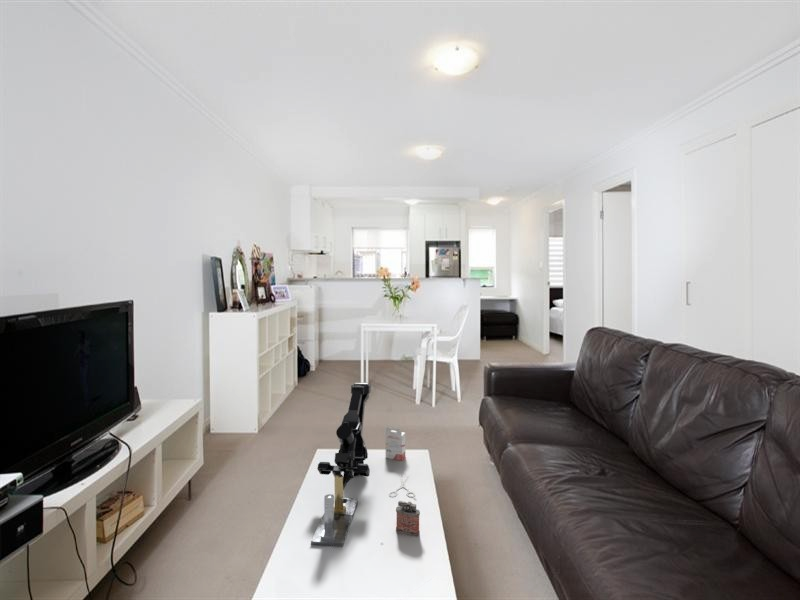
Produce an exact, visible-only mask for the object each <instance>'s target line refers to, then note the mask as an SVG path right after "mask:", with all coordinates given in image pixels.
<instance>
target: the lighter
mask: <svg viewBox="0 0 800 600" xmlns="http://www.w3.org/2000/svg"><path fill="white" fill-rule="evenodd" d="M395 511H396V527H395V532H396V533H398V534H400V535H404V536H407V537H414V538H417V537H419V536H420V533H421V532H420V514H421V511H420V509H417V504H416V503H412V502H411V501H408V502H406V501H403V500H398V503H397V507H396V509H395Z"/></svg>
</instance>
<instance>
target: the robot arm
mask: <svg viewBox="0 0 800 600" xmlns="http://www.w3.org/2000/svg"><path fill="white" fill-rule="evenodd" d="M371 391H372V385H371V384H370V385H369V382H354V384H351V385H350V394H351V397H350V401H349V405H348V411H347V412H346V413H345V415H344V416H343V419H342V421H341V422H340V424H339V426H338V427H337V429H336V436H337V440H338V442H339V443H340V445H339V450H338V452H335V453H334V463H335V465H332V464H331V463H330V462H329V461H319V463H318V464H317V471H318V472H319V474H320V475H327V476H328V475H330V474H331V473H332V474H333V477H334V478H335V476H336V475H343V491H344V490H345V488H346V487H347V485H348V483H349V482H350V481H351V479H353V478H355V477H357V476H359V475H360V477H365V478H366V477H370V472H371V471H370V466H369V465H368V463H364V462H365V461H366V460H367V459H368V458H369V456H368V455H369V454H368V449H367V446H366V443H365V440H364V437H363V431H364V430H363V429H364V418H365V407H366V402H367V401H368V399H369V398H370V394H371ZM342 473H343V474H342Z"/></svg>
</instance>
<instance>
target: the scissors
mask: <svg viewBox="0 0 800 600" xmlns="http://www.w3.org/2000/svg"><path fill="white" fill-rule="evenodd" d="M409 475H410V474H408V475H407V476H406V477H405V479H404V480H403V477H402V475H401V474H399V480H400V486H399V488H396V489H395V490H394V491H391V492H389V494H388V496H389V497H390V498H395V497H397V496H398V491H399V490H401V489H404V490H406V491H407V493H406V496H407V497H408V498H412V499H414V501H417V498H416V497H415V496H416V493H415V492H413V491H410V490H409V489H408V488H407V487H406V483H407V481H408V479H409ZM397 490H398V491H397ZM395 493H396V494H395ZM391 494H394V495H391ZM410 494H412V495H410ZM396 495H397V496H396Z"/></svg>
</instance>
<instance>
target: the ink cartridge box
mask: <svg viewBox="0 0 800 600" xmlns="http://www.w3.org/2000/svg"><path fill="white" fill-rule="evenodd" d="M385 458H386V459H390V460H396V461H403V460H404V459H405V458H406V432H403V431H402V429H401V428H396V427H390V426H389V427H388V426H386V427H385Z"/></svg>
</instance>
